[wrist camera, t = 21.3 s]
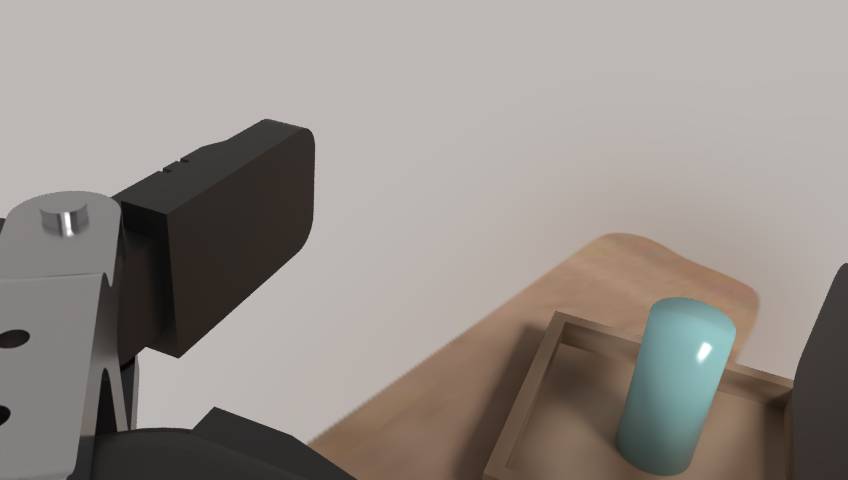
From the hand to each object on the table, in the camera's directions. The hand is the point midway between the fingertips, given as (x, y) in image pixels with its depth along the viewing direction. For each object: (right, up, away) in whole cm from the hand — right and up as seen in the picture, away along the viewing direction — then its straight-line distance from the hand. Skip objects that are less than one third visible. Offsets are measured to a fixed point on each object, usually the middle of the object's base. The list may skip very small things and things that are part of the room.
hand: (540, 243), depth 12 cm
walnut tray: (+13, -14, +38) cm, 43 cm away
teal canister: (+13, -13, +38) cm, 42 cm away
